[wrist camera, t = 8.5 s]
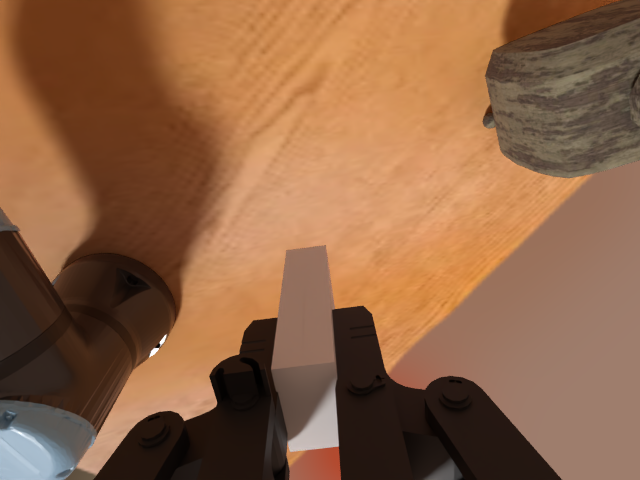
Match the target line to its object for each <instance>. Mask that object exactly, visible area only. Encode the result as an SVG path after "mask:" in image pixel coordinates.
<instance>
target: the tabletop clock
mask: <svg viewBox="0 0 640 480" xmlns="http://www.w3.org/2000/svg"><path fill="white" fill-rule="evenodd" d="M485 77H486V82H487V87H488V92H489V97H490V102H491V106H492V111H493V113H488V114H487V115H486V116H484V119H483V124H484V126H485V127H486V128H494V127H495V126H496V131H497V136H498V141H499V146H500V150H501V152H502V153H503V154H504V155H505V156H506V157H507V158H509V159H510V160H512V161H513V162H514V163H516V164H518V165H520V166H523V167H525V168H528V169H530V170H533V171H535V172H538V173H542V174H545V175H549V176H555V177H563V178H573V177H579V176H584V175H589V174H594V173H598V172H602V171H606V170H609V169H612V168H616V167H619V166H622V165H625V164H628V163H632V162H635V161H638V160H640V0H621V1H617V2H614V3H611V4H608V5H605V6H602V7H599V8H597V9H594V10H591V11H588V12H586V13H583V14H581V15H578V16H575V17H573V18H570V19H568V20H565V21H563V22H560V23H557V24H555V25H552V26H550V27H547V28H545V29H542V30H540V31H537V32H535V33H532V34H530V35H527V36H525V37H522V38H520V39H517V40H515V41H512V42H510V43H508V44H505V45H503V46H501V47H499V48H496V49H494V50H493V52H492V55H491V59H490V62H489V65H488V68H487V71H486V75H485Z"/></svg>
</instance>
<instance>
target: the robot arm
mask: <svg viewBox="0 0 640 480" xmlns="http://www.w3.org/2000/svg"><path fill="white" fill-rule="evenodd" d="M19 231H20V229H19V228H18V227H17V226H16V225H13V224H12V223H11V221H10V220H9V218H8V217H7V216H6V214H5V213H4V212H3V210H2V209H1V207H0V480H64V479H65V478H67V477H68V476H69V475H70V474H71V472H73V470H74V469H75V468H76V466H77V465H78V463H79V462H80V460H81V459H82V457H83V456H84V454H85V453H86V451H87V450H88V449H89V448H90V447H91V446H92V445H93V444H94V441H95V439H96V437H97V435H98V433H99V431H100V429H101V427H102V426H103V424H104V422H105V420H106V418H107V416H108V415H109V413H110V411H111V409H112V407H113V405H114V404H115V402H116V400H117V398H118V396H119V394H120V393H121V391H122V389H123V387H124V385H125V383H126V382H127V380H128V378H129V376H130V374H131V373H132V371H133V370H134V369H135V368H136V367H138V366H139V365H140V364H142V363H143V362H144V361H145V360H147V359H148V358H149V357H150V356H152V355H153V354H154V353H156V352H157V351H158V350H159V349H160V348H161V347H162V345H163V344H164V343H165V341H166V340H167V338H168V336H169V334H170V332H171V330H172V328H173V325H174V322H175V315H176V310H175V303H174V300H173V297H172V294H171V292H170V290H169V289H168V287H167V285H166V284H165V283H164V281H163V280H162V279H161V278H160V277H159V276H158V275H157V274H156V273H155V272H154V271H152V270H151V269H150V268H148V267H147V266H145V265H144V264H142V263H140V262H138V261H136V260H134V259H131V258H128V257H125V256H121V255H116V254H93V255H89V256H85V257H82V258H80V259H78V260H76V261H74V262H73V263H71V264H70V265H69V266H67V267H66V268H65V269H64V270H63V271H62V272H60V273H59V274H58V275H57V276H56V278H55V279H54V280H53V282H52V283H51V282H50V281H49V279H48V277H47V276H46V274H45V273H44V271H43V270H42V268H41V266H40V265H39V263H38V262H37V260H36V259H35V257H34V255H33V254H32V252H31V251H30V249H29V247H28V246H27V244H26V243H25V241H24V240H23V238H22V236H21V235H20V233H19ZM209 377H210V380H211V383H212V386H213V390H214V393H215V396H216V399H217V406H216V407H215V408H214V409H212V410H211V411H209V412H207V413H204V414H202V415H200V416H197V417H194V418H192V419H189V420H186V421H184V420H183V418H182V417H181V416H180V415H179V414H178V413H175V412H172V411H164V412H158V413H155V414H152V415H150V416H148V417H146V418H144V419H143V420H141V421H140V422H138V423H137V424H136V425H135V426H134V427H133V428H132V429H131V430H130V431H129V433H128V434H127V435H126V437H125V438H124V439H123V441H122V442H121V443H120V445H119V446H118V448H117V449H116V450H115V452H114V453H113V454H112V456H111V457H110V458H109V460H108V461H107V462H106V464H105V465H104V466H103V468H102V469H101V470H100V472H99V473H98V474H97V476H96V477H95V478H94V480H289V472H290V471H289V465H288V461H287V456H286V453H287V441H288V445H289V449H290V452H293V451H302V450H310V449H319V448H328V447H337V446H339V454H340V469H341V480H561V478H560V477H559V476H558V475H557V474H556V472H555V471H554V470H553V469H552V468H551V467H550V466H549V465H548V463H547V462H546V461H545V460H544V459H543V458H542V457H541V455H540V454H539V453H538V452H537V451H536V450H535V449H534V447H533V446H532V445H531V444H530V443H529V442H528V441H527V440H526V438H525V437H524V436H523V435H522V434H521V433H520V432H519V431H518V429H517V428H516V427H515V426H514V425H513V424H512V423H511V422H510V420H509V419H508V418H507V417H506V416H505V415H504V413H503V412H502V411H501V410H500V409H499V408H498V407H497V406H496V404H495V403H494V402H493V401H492V400H491V399H490V398H489V396H488V395H487V394H486V393H485V392H484V391H483V390H482V389H481V388H480V387H479V386H478V385H476V384H475V383H474V382H472V381H470V380H467V379H465V378H462V377H454V376H448V377H441V378H438V379H436V380H434V381H432V382H431V383H430V384H429V385H428V387H427V388H426V390H422V389H414V388H409V387H405V386H403V385H400V384H398V383H396V382H395V381H393V380H392V379H391V378H390V377H389V376H388V374H387V373H386V370H385V368H384V364H383V359H382V355H381V351H380V347H379V342H378V338H377V334H376V329H375V326H374V321H373V317H372V314H371V313H370V312H369V311H368V310H367V309H366V308H365V307H364V306H357V307H349V308H341V309H335V306H334V299H333V292H332V285H331V278H330V271H329V264H328V257H327V250H326V245H324V246H316V247H309V248H301V249H293V250H286V258H285V265H284V273H283V281H282V289H281V296H280V304H279V312H278V318H270V319H262V320H254V321H253V322H252V323H251V324H250V325H249V326H248V328H247V329H246V330H245V331H244V335H243V339H242V345H241V347H240V354H239V355H236V356H232V357H229V358H227V359H225V360H223V361H222V362H220V363H219V364H218V365H217V366H216V367H215V368H214V369H213V370H212V372H211V374H210V376H209Z"/></svg>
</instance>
